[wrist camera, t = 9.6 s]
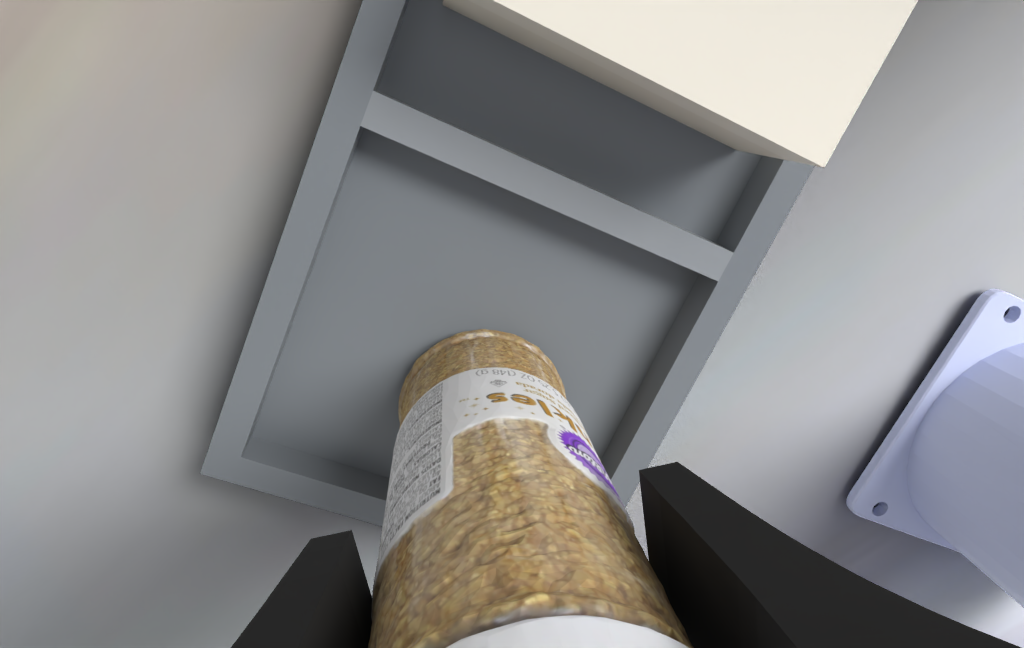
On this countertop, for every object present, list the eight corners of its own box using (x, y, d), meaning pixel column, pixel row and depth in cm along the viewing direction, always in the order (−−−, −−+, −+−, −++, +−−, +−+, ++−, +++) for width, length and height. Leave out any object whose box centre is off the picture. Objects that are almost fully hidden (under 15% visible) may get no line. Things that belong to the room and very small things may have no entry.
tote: (931, -117, 16) (983, -139, 14) (571, 549, 21) (582, 584, 19) (509, -396, 13) (519, -458, 12) (218, 442, 18) (200, 474, 17)
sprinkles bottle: (594, 378, 18) (977, 912, 5) (504, 507, 19) (650, 1262, 6) (453, 291, 17) (507, 691, 4) (363, 432, 18) (175, 1142, 5)
